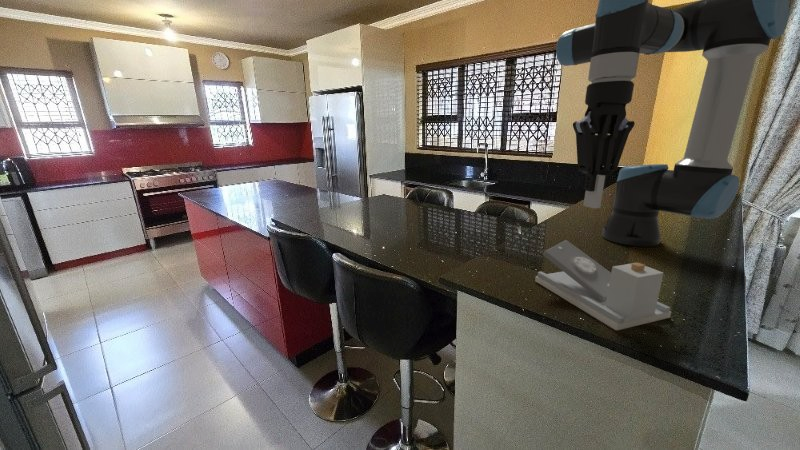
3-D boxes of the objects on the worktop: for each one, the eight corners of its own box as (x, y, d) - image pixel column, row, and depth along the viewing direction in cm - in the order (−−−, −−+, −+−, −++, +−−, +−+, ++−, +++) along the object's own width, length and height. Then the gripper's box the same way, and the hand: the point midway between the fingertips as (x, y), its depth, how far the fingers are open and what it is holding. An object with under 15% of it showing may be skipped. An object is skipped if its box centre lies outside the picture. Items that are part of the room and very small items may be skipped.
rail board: (580, 273, 82) (585, 232, 79) (670, 317, 63) (682, 265, 60) (535, 281, 78) (539, 238, 75) (616, 330, 59) (626, 276, 56)
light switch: (607, 296, 64) (545, 247, 73) (591, 314, 68) (534, 266, 76) (628, 280, 69) (567, 236, 77) (612, 298, 73) (556, 254, 81)
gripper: (619, 85, 68) (601, 201, 74) (566, 83, 64) (552, 205, 70) (656, 80, 61) (633, 208, 67) (600, 77, 57) (580, 213, 64)
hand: (591, 206), depth 69 cm, fingers closed
